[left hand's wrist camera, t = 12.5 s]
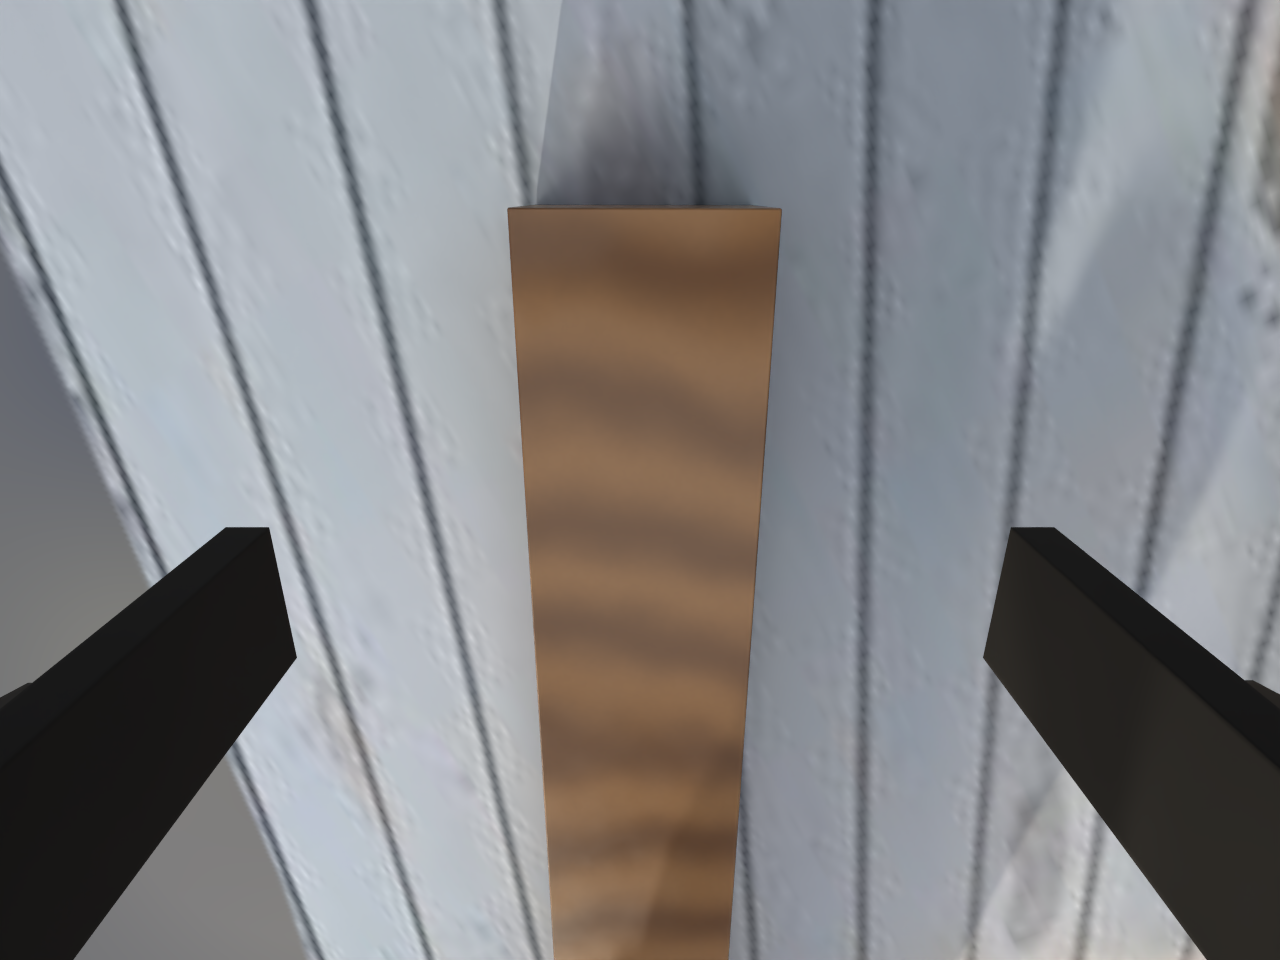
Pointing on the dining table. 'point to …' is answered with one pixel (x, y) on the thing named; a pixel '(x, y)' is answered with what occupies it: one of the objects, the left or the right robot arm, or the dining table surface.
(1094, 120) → the dining table surface
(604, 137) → the dining table surface
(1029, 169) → the dining table surface
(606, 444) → the thick board
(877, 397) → the dining table surface
